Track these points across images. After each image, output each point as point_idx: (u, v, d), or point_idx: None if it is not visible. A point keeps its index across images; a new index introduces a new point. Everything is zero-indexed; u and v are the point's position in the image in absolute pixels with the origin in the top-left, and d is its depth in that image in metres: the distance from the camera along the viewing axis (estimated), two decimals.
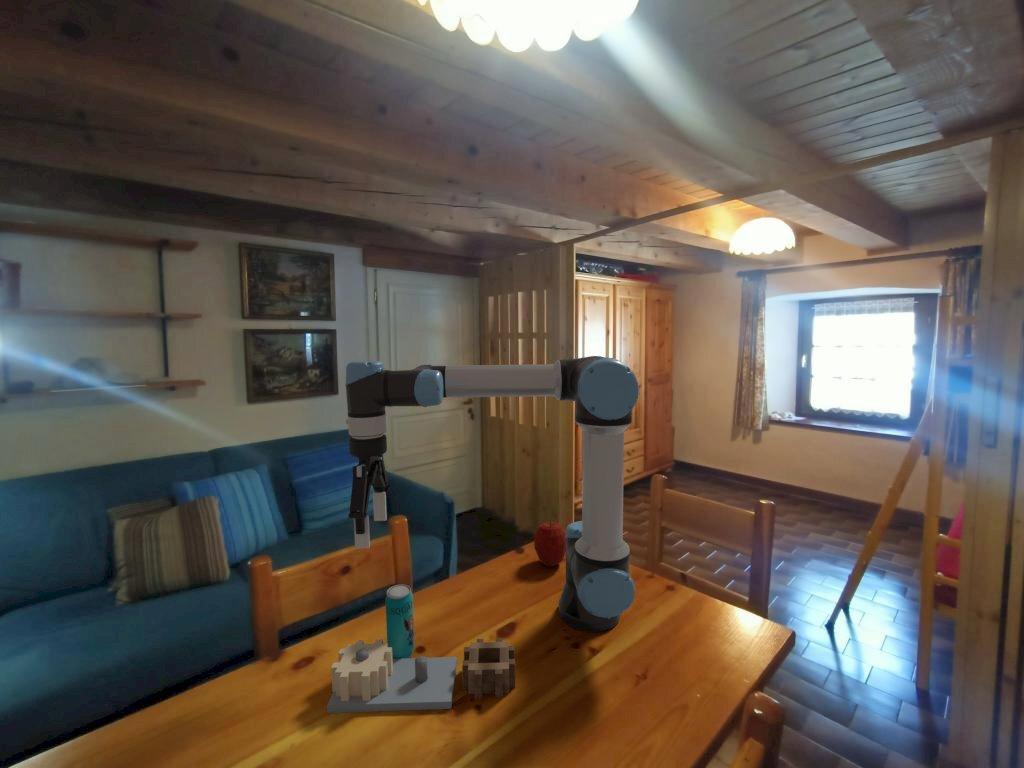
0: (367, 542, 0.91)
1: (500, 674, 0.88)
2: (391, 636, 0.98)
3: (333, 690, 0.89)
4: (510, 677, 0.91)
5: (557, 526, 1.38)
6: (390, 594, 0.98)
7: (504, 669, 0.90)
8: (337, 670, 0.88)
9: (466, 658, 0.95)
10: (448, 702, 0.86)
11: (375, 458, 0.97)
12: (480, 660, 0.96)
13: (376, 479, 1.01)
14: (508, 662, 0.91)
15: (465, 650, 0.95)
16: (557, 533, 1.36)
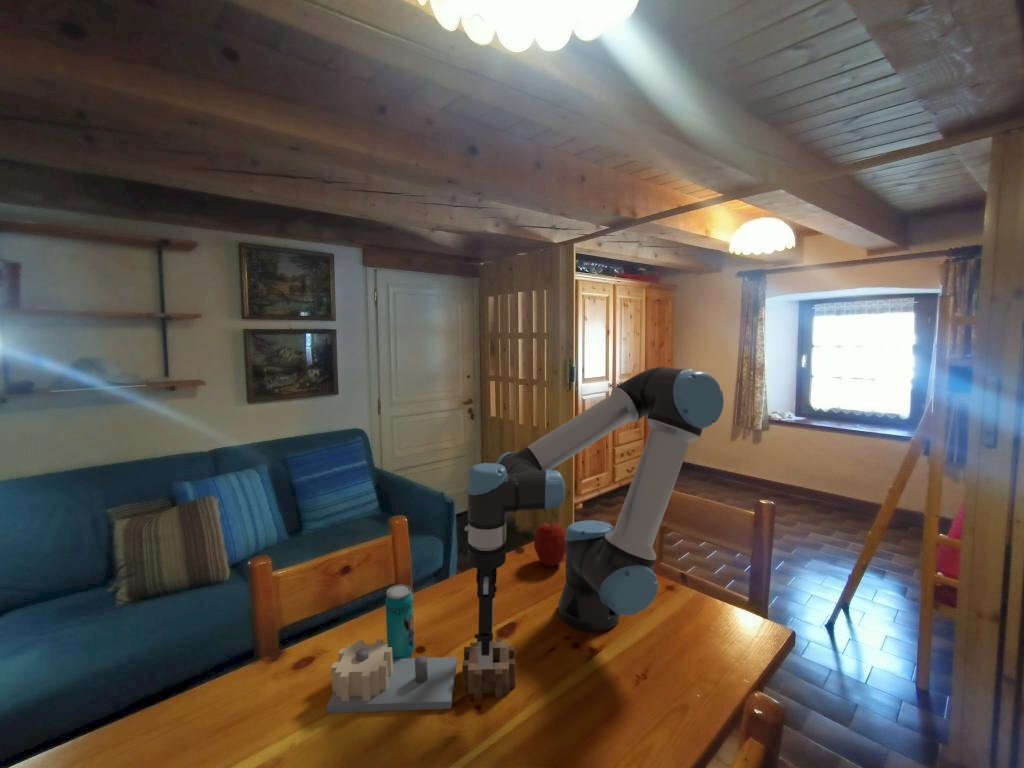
0: (491, 662, 0.86)
1: (500, 674, 0.88)
2: (391, 636, 0.98)
3: (333, 690, 0.89)
4: (510, 677, 0.91)
5: (557, 526, 1.38)
6: (390, 594, 0.98)
7: (504, 669, 0.90)
8: (337, 670, 0.88)
9: (466, 658, 0.95)
10: (448, 702, 0.86)
11: None
12: None
13: None
14: (508, 662, 0.91)
15: (465, 650, 0.95)
16: (557, 533, 1.36)
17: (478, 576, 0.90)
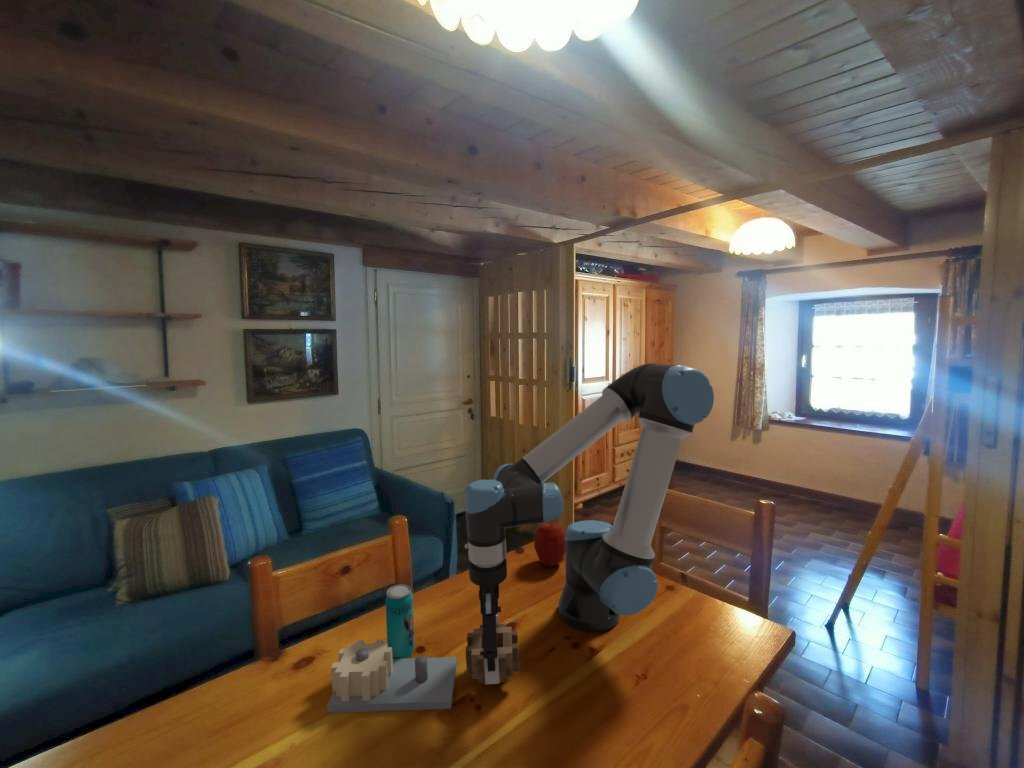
0: (497, 677, 0.88)
1: (503, 658, 0.88)
2: (391, 636, 0.98)
3: (333, 690, 0.89)
4: (514, 661, 0.91)
5: (557, 526, 1.38)
6: (390, 594, 0.98)
7: (507, 653, 0.89)
8: (337, 670, 0.88)
9: (469, 644, 0.95)
10: (448, 702, 0.86)
11: None
12: None
13: None
14: (512, 647, 0.91)
15: (468, 636, 0.95)
16: (557, 533, 1.36)
17: (480, 593, 0.90)
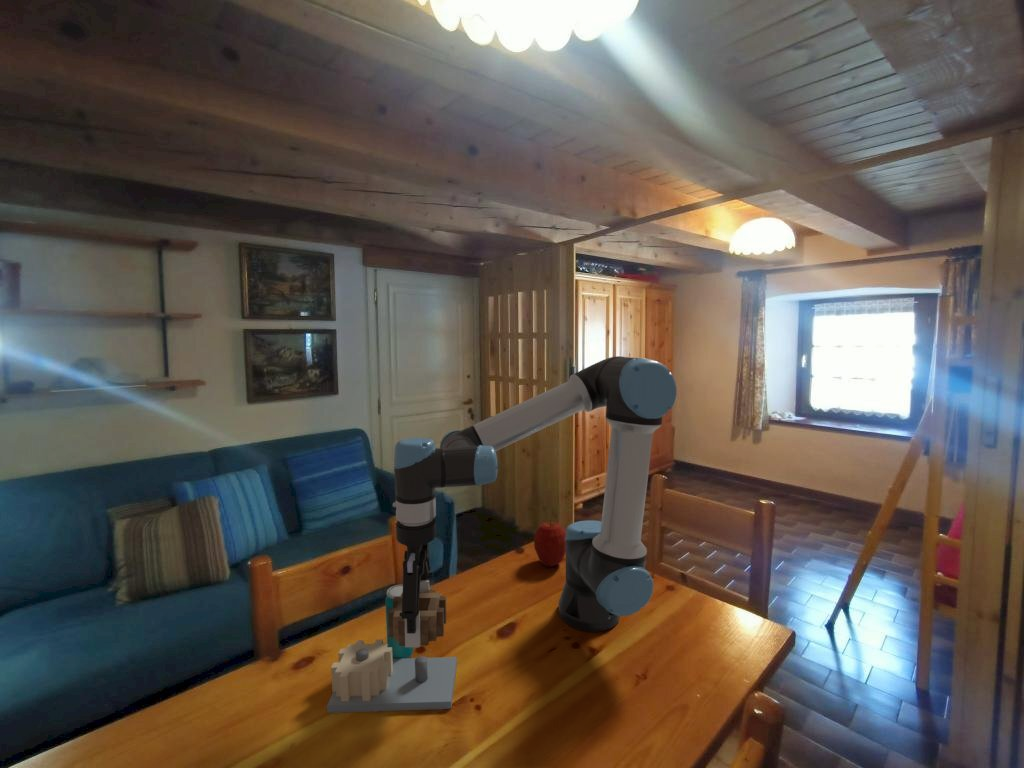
0: (418, 641, 0.85)
1: (425, 621, 0.85)
2: None
3: (333, 690, 0.89)
4: (438, 626, 0.88)
5: (557, 526, 1.38)
6: (390, 594, 0.98)
7: (430, 616, 0.86)
8: (337, 670, 0.88)
9: (395, 607, 0.92)
10: (448, 702, 0.86)
11: None
12: None
13: None
14: (436, 610, 0.88)
15: (394, 599, 0.92)
16: (557, 533, 1.36)
17: (406, 553, 0.87)
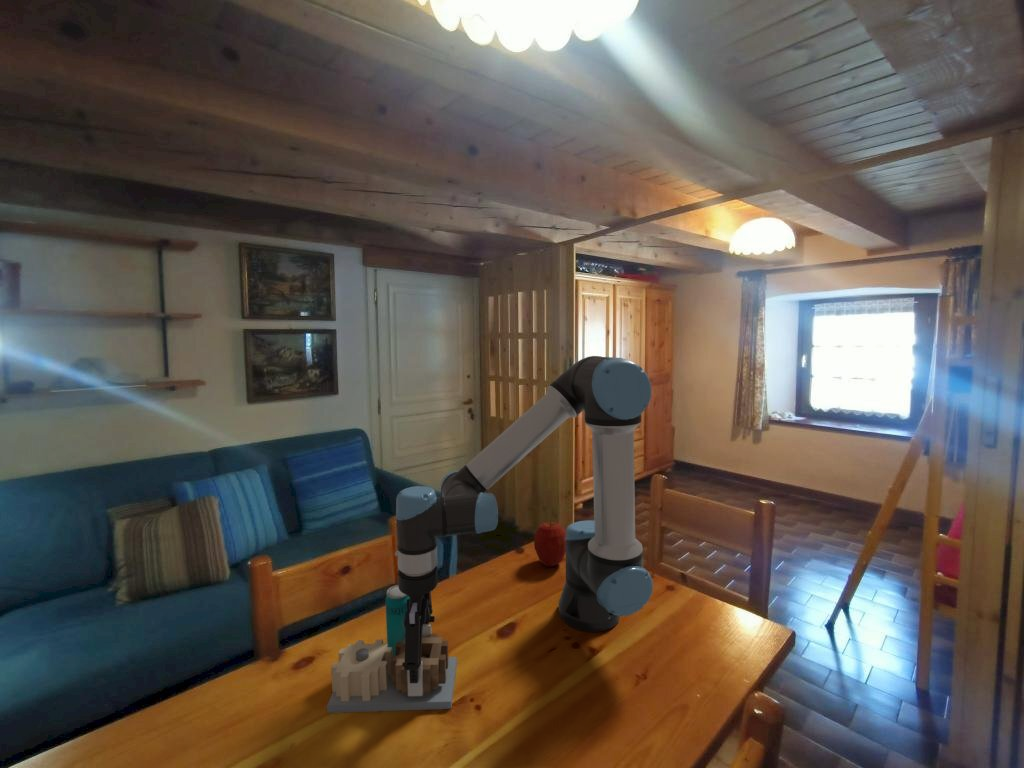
0: (421, 689, 0.86)
1: (427, 670, 0.86)
2: (391, 636, 0.98)
3: (333, 690, 0.89)
4: (440, 673, 0.89)
5: (557, 526, 1.38)
6: (390, 594, 0.98)
7: (433, 665, 0.88)
8: (337, 670, 0.88)
9: (398, 653, 0.93)
10: (448, 702, 0.86)
11: None
12: None
13: None
14: (438, 658, 0.89)
15: (397, 645, 0.93)
16: (557, 533, 1.36)
17: (408, 602, 0.88)
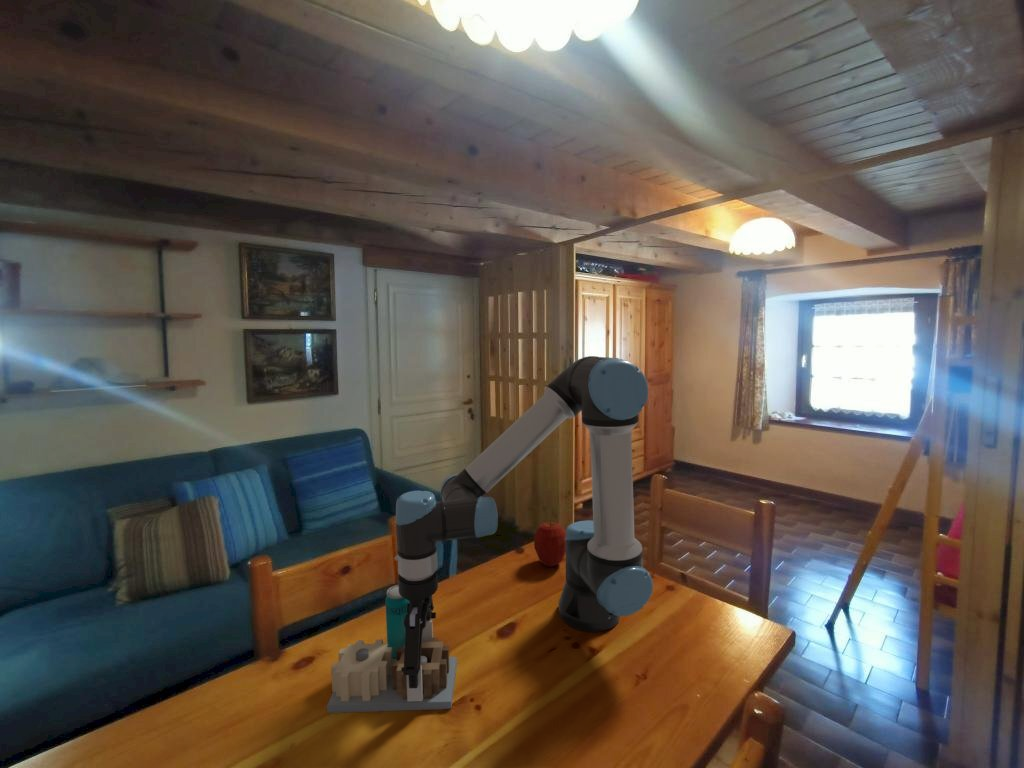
0: (420, 695, 0.85)
1: (428, 675, 0.86)
2: (391, 636, 0.98)
3: (333, 690, 0.89)
4: (441, 678, 0.89)
5: (557, 526, 1.38)
6: (390, 594, 0.98)
7: (433, 669, 0.88)
8: (337, 670, 0.88)
9: (399, 658, 0.93)
10: (448, 702, 0.86)
11: None
12: None
13: None
14: (439, 663, 0.89)
15: (398, 650, 0.93)
16: (557, 533, 1.36)
17: (409, 606, 0.89)
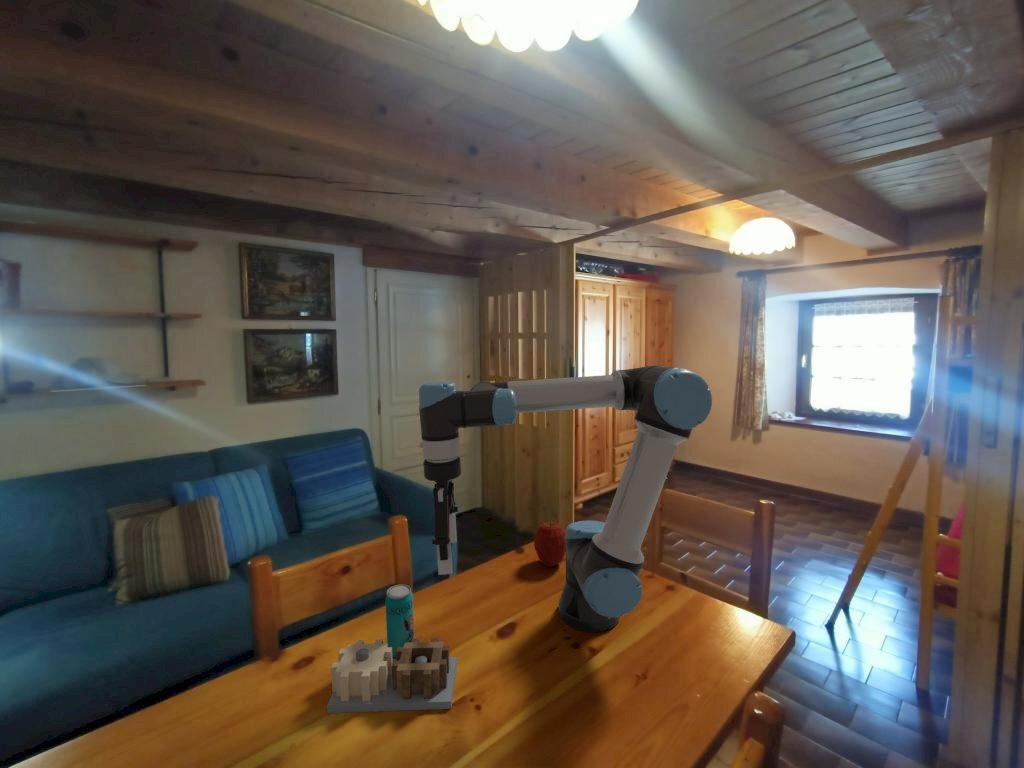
0: (450, 567, 0.89)
1: (428, 675, 0.86)
2: (391, 636, 0.98)
3: (333, 690, 0.89)
4: (441, 678, 0.89)
5: (557, 526, 1.38)
6: (390, 594, 0.98)
7: (433, 669, 0.88)
8: (337, 670, 0.88)
9: (399, 658, 0.93)
10: (448, 702, 0.86)
11: (449, 480, 0.96)
12: (414, 660, 0.94)
13: None
14: (439, 663, 0.89)
15: (398, 650, 0.93)
16: (557, 533, 1.36)
17: (435, 489, 0.93)
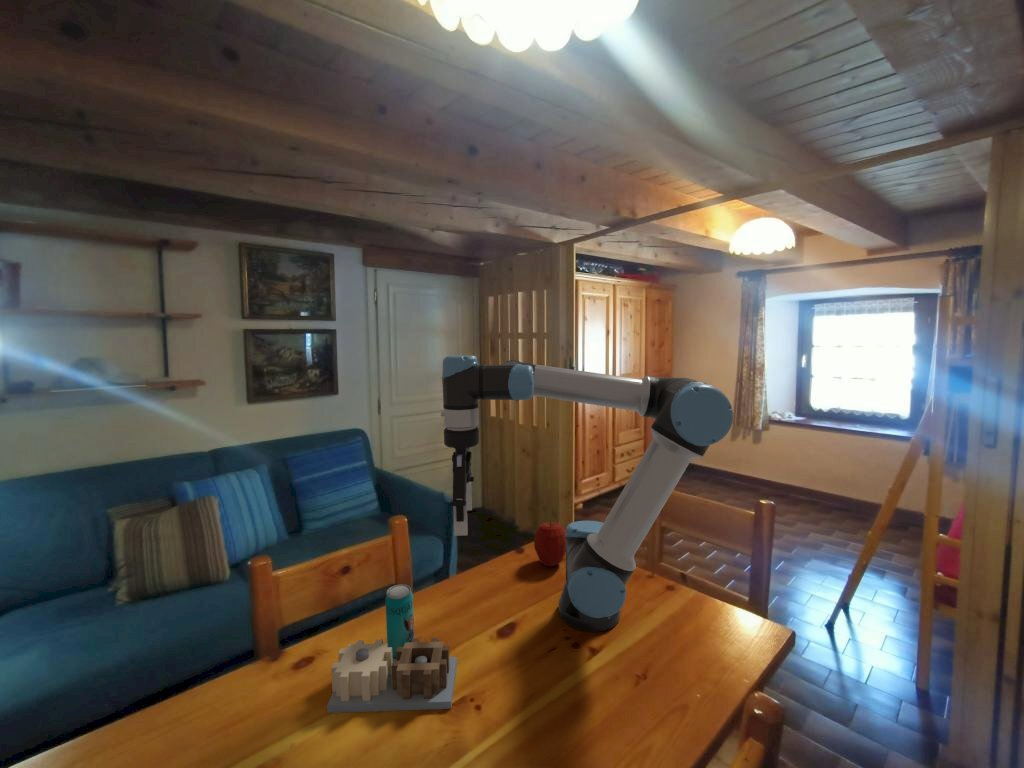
0: (466, 529, 0.95)
1: (428, 675, 0.86)
2: (391, 636, 0.98)
3: (333, 690, 0.89)
4: (441, 678, 0.89)
5: (557, 526, 1.38)
6: (390, 594, 0.98)
7: (433, 669, 0.88)
8: (337, 670, 0.88)
9: (399, 658, 0.93)
10: (448, 702, 0.86)
11: (467, 449, 1.01)
12: (414, 660, 0.94)
13: None
14: (439, 663, 0.89)
15: (398, 650, 0.93)
16: (557, 533, 1.36)
17: None
